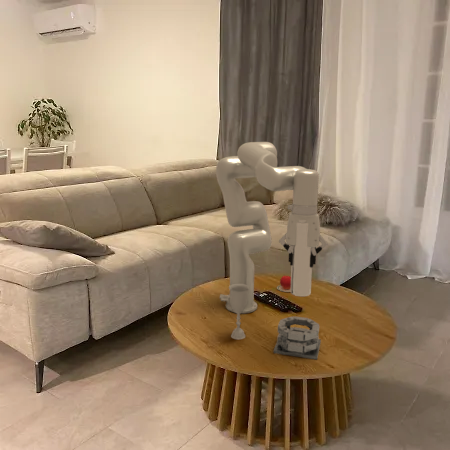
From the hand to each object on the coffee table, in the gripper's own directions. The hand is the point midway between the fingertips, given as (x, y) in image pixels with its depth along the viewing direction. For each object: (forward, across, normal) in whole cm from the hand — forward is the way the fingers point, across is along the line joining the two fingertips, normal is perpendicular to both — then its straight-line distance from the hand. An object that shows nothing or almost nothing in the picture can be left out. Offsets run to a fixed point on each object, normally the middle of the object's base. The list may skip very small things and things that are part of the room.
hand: (301, 264), depth 149 cm
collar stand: (+29, 0, 0) cm, 29 cm away
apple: (+29, -12, +51) cm, 60 cm away
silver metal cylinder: (+10, 0, 0) cm, 10 cm away
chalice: (+29, -21, +2) cm, 36 cm away
